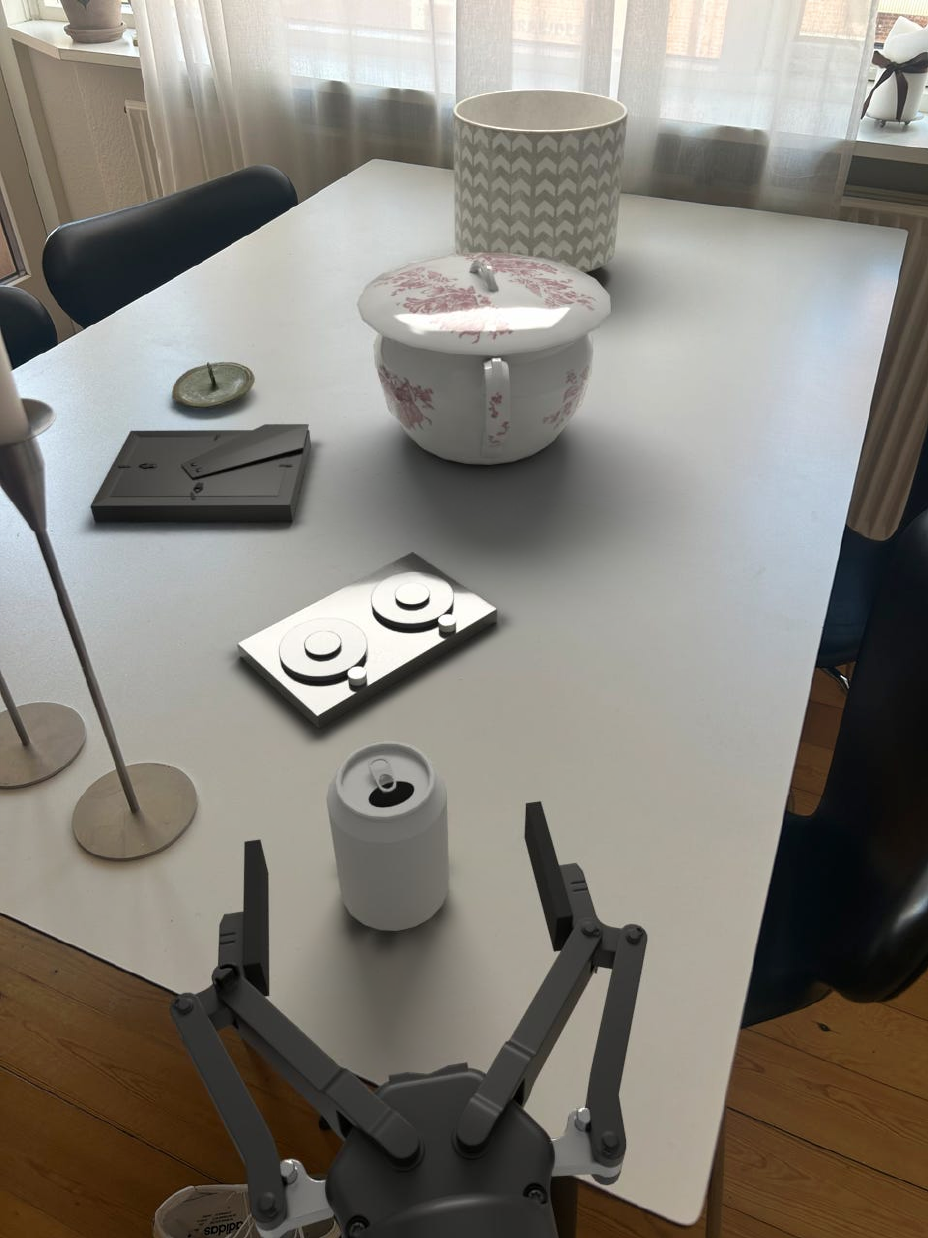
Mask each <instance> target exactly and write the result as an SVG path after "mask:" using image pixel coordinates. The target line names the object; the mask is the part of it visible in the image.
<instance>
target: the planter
mask: <svg viewBox="0 0 928 1238" xmlns="http://www.w3.org/2000/svg"><path fill="white" fill-rule="evenodd" d="M628 113H629V111H628V107H626V105H625V104H624V103H622V102H621V101H619V100H616V99H614V98H612V97H608V96H605V95H601V94H596V93H591V92H586V91H579V90H578V91H577V90H570V89H569V90H568V89H555V88H553V89H552V88H525V89H522V88H521V89H509V90H498V91H492V92H486V93H481V94H476V95H473V96H470V97H467V98H464V99H462V100H460V101H459V102H457V103H456V104H455V105H454V107H453V110H452V119H453V120H452V122H453V125H452V126H453V128H452V130H453V131H452V132H453V196H454V197H453V199H454V200H453V201H454V202H453V204H454V250H455V251H454V252H455V254H464V253H510V254H517V255H524V256H531V257H538V258H545V259H548V260H551V261H555V262H558V263H562V264H565V265H568V266H572V267H574V268H576V269H578V270H580V271H582V272H584V273H589V272H592V271H595V270H597V269H598V268H602V267H603V266H605V265H606V264H608V263H609V262H610V261H611V260H612V259H613V257H614V255H615V253H616V243H617V233H618V231H617V230H618V221H619V211H620V200H621V190H622V178H623V167H624V154H625V145H626V134H627V125H628Z"/></svg>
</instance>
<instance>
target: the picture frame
mask: <svg viewBox="0 0 928 1238" xmlns="http://www.w3.org/2000/svg"><path fill="white" fill-rule="evenodd" d="M309 427H310V426H309V423H271V424H269V423H264V424H262V425H260V426H259V427H256V428H254V429H211V430H210V429H207V430H205V429H198V430H197V429H195V430H193V429H192V430H191V429H187V430H185V429H184V430H183V429H182V430H181V429H180V430H179V429H176V430H171V429H170V430H130V431H129V433H128V435H127V437H126V438H125V440H124V441H123V442H124V443H123V444H122V446H121V448H120V450H119V452H118V454H117V455H116V457H115V459H114V461H113V462H112V465H111V467H110V468H109V469H108V472H107V474H106V476H105V477H104V480H103V481H102V483H101V485H100V486H99V489H98V491H97V492H96V494H95V496H94V498H93V500H92V502H91V504H90V505H89V507H90V510H91V513H92V517H93V520H94V523H264V522H265V523H273V522H275V523H279V522H280V523H283V522H284V523H286V522H287V523H288V522H289V523H292V522H293V521H294V517H295V513H296V509H297V505H298V500H299V496H300V492H301V488H302V484H303V480H304V476H305V472H306V467H307V463H308V459H309V455H310V452H311V447H312V441H311V434H310V429H309Z"/></svg>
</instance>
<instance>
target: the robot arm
mask: <svg viewBox="0 0 928 1238" xmlns="http://www.w3.org/2000/svg"><path fill="white" fill-rule="evenodd" d="M524 813H525V814H524V835H523V836H524V837H523V838H524V842H525V846H526V849H527V853H528V857H529V861H530V865H531V869H532V873H533V876H534V880H535V885H536V888H537V892H538V897H539V900H540V904H541V907H542V912H543V915H544V916H543V917H544V919H545V923H546V926H547V930H548V934H549V939H550V942H551V943H550V944H551V946H552V950H553V952H555V953H557V952H559V954H558V955H557V957H556V958H555V960H554V962H553V964H552V966H551V967H550V968H549V970H548V971H547V974H546V976H545V977H544V979H543V981H542V983H541V985H540V986H539V988H538V990H537V991H536V993H535V995H534V997H533V998H532V1000H531V1002H530V1004H529V1005H528V1007H527V1009H526V1010H525V1012H524V1014H523V1015H522V1018H521V1019H520V1021H519V1023H518V1024H517V1026H516V1028H515V1030H514V1031H513V1033H512V1034H511V1037H510V1038H509V1040H506V1041H505V1042H504V1043H503V1044H502V1046H501V1048H500V1050H499V1051H498V1053H497V1054H496V1057H494V1060H493V1061H492V1063H491V1065H490V1066H489V1069H488V1070H487V1072H484V1071H482V1070H479V1069H477V1068H473V1067H469V1065H468V1062H467V1061H466V1062H460V1063H454V1064H448V1065H445V1066H444V1067H442V1068H441V1067H440V1068H439V1069H437V1070H435V1071H432V1072H430V1073H421V1072H412V1071H407V1072H406V1071H405V1072H400V1073H394V1074H393V1073H392V1074H389V1075H388V1080H387V1081H385V1082H384V1083H382V1084H381V1085H379V1086H378V1087H377V1088H376V1089H375V1090H374V1091H373V1090H372V1089H371V1088H369V1087H368V1086H367V1084H365V1083H364V1082H363V1081H362V1080H361V1079H360V1078H359V1077H358V1076H357V1075H355V1074H354V1073H353V1072H352V1071H351V1070H349V1069H348V1068H347V1067H344V1068H343V1067H341V1065H339V1064H338V1063H337V1062H336V1061H335V1060H334V1059H333V1058H332V1057H330V1056H329V1055H328V1054H327V1053H326V1052H325V1051H324V1050H323V1049H322V1048H321V1047H320V1046H319V1045H317V1043H316V1042H314V1041H313V1040H312V1039H311V1038H310V1037H309V1036H308V1035H307V1034H306V1033H305V1032H303V1030H301V1028H299V1027H298V1026H297V1025H296V1024H295V1023H294V1022H293V1021H292V1020H291V1019H289V1018H288V1017H287V1016H286V1015H285V1014H284V1013H283V1012H282V1011H281V1010H279V1008H278V1007H277V1006H275V1004H274V1003H272V1001H270V1000H269V999H268V998H267V997H270V896H269V895H270V891H269V890H270V887H269V882H270V881H269V879H270V878H269V870H268V864H267V861H266V856H265V851H264V848H263V844H262V839H253V840H246V841H244V842H243V843H244V845H243V901H242V902H243V904H242V905H243V907H242V911H236V912H231V913H230V912H229V913H224V914H223V916H222V918H221V920H220V922H219V925H218V927H219V928H218V930H219V931H218V949H217V950H218V954H217V965H216V967H215V968H214V970H213V971H212V973H211V984H210V986H208V987H207V988H205V989H204V990H203V989H202V990H201V991H199V992H197V993H193V992H182V993H180V994H178V995H176V997H174V998H173V1000H172V1001H171V1003H170V1004H169V1005H170V1007H169V1012H170V1015H171V1018H172V1021H173V1023H174V1025H175V1029H176V1031H177V1033H178V1035H179V1038H180V1041H181V1042H182V1045H183V1047H184V1049H185V1050H186V1053H187V1054H188V1057H189V1058H190V1060H191V1063H192V1064H193V1066H194V1068H195V1070H196V1072H197V1075H198V1076H199V1078H200V1080H201V1082H202V1084H203V1086H204V1088H205V1090H206V1092H207V1094H208V1096H209V1097H210V1100H211V1102H212V1104H213V1107H214V1108H215V1110H216V1113H217V1114H218V1115H219V1118H220V1120H221V1122H222V1123H223V1126H224V1127H225V1130H226V1131H227V1133H228V1135H229V1137H230V1139H231V1141H232V1144H233V1145H234V1147H235V1149H236V1151H237V1153H238V1155H239V1157H240V1159H241V1161H242V1163H243V1165H244V1167H245V1174H246V1184H247V1193H248V1203H249V1211H250V1214H251V1217H252V1220H253V1223H254V1224H255V1227H256V1230H257V1232H258V1234H259V1237H260V1238H291V1236H292V1233H293V1230H295V1229H299V1228H302V1227H306V1226H308V1225H312V1224H314V1223H318V1222H321V1221H324V1220H327V1219H331V1218H333V1219H334V1222H335V1223H336V1225H337V1226H338V1229H339V1230H340V1233H341V1238H559V1235H558V1233H559V1232H558V1229H557V1224H556V1219H555V1215H554V1210H553V1206H552V1205H553V1204H552V1199H551V1183H552V1182H553V1181H552V1180H553V1178H554V1177H565V1176H569V1177H570V1176H584V1175H590V1177H592V1179H593V1180H594V1181H595V1182H596V1183H598V1184H599V1185H603V1186H611V1185H613V1184H615V1183H616V1182H617V1181H618V1180H619V1177H620V1175H621V1173H622V1169H623V1164H624V1159H625V1156H626V1151H627V1136H626V1130H625V1123H624V1118H623V1111H622V1106H621V1100H620V1090H621V1085H622V1079H623V1074H624V1069H625V1065H626V1064H625V1063H626V1059H627V1052H628V1047H629V1043H630V1037H631V1031H632V1026H633V1021H634V1015H635V1009H636V1003H637V998H638V993H639V988H640V982H641V976H642V971H643V966H644V960H645V957H646V956H645V955H646V949H647V945H648V933H647V931H646V930H645V929H644V927H642V926H641V925H638V924H636V923H629V924H625V925H624V926H623V927H615V926H609V925H607V924H605V923H604V922H602V921H601V919H599V917H598V915H597V912H596V909H595V906H594V903H593V899H592V896H591V893H590V890H589V887H588V883H587V879H586V877H585V873H584V870H583V869H582V868H581V866H580V865H579V864H578V863H577V862H572V863H566V864H559V860H558V857H557V853H556V849H555V846H554V841H553V838H552V836H551V835H552V834H551V832H550V828H549V825H548V822H547V817H546V814H545V810H544V808H543V804H542V800H539V801H532V802H526V803H525V812H524ZM599 968H602V969H608V970H611V971H610V977H609V982H608V987H607V992H606V997H605V1001H604V1005H603V1011H602V1015H601V1018H600V1019H601V1020H600V1024H599V1030H598V1034H597V1039H596V1043H595V1048H594V1049H595V1050H594V1054H593V1058H592V1063H591V1067H590V1072H589V1078H588V1083H587V1084H588V1085H587V1091H586V1098H585V1103H584V1106H581V1107H576V1108H574V1109H572V1111H570V1112H569V1115H568V1116H567V1120H566V1121H567V1122H566V1127H565V1130H564V1132H563V1133H562V1134H561V1135H559V1136H557V1137H553V1138H551V1136H550V1135H549V1133H548V1132H547V1131H546V1130H545V1128H543V1126H541V1124H539V1123H538V1122H537V1121H536V1120H535V1118H533V1117H532V1115H530V1114H529V1113H528V1112H527V1111H526V1110H525V1109H524V1108H525V1106H526V1104H527V1102H528V1100H529V1098H530V1096H531V1093H532V1090H533V1087H534V1085H535V1083H536V1081H537V1079H538V1077H539V1075H540V1074H541V1072H542V1070H543V1067H545V1064H546V1062H547V1060H548V1058H549V1057H550V1055H551V1053H552V1051H553V1049H554V1047H555V1045H556V1044H557V1042H558V1040H559V1038H560V1036H561V1034H562V1032H563V1031H564V1029H565V1027H566V1025H567V1023H568V1022H569V1020H570V1017H571V1016H572V1014H573V1012H574V1010H575V1008H576V1006H577V1005H578V1003H579V1001H580V999H581V997H582V996H583V994H584V992H585V990H586V988H587V986H588V985H589V982H590V981H591V979H592V977H593V975H594V974H596V975H597V973H598V970H599ZM227 1027H230V1028H231V1029H232V1030H233V1031H234V1032H236V1033H237V1035H239V1037H240V1038H242V1039H243V1040H244V1041H245V1042H246V1043H247V1044H248V1045H249V1046H250V1047H251V1048H252V1049H253V1050H254V1051H255V1052H256V1053H257V1054H258V1055H259V1056H260V1057H261V1058H262V1059H263V1060H264V1061H265V1062H266V1063H267V1064H268V1065H269V1066H270V1067H271V1068H272V1069H273V1070H274V1071H275V1072H277V1074H278V1075H280V1076H281V1077H282V1078H283V1079H284V1081H286V1082H287V1083H288V1085H290V1086H291V1087H292V1088H293V1089H294V1090H295V1091H296V1092H297V1093H298V1094H299V1095H300V1096H301V1097H302V1098H303V1099H304V1100H305V1101H306V1102H307V1103H308V1104H309V1105H310V1106H311V1107H312V1108H313V1109H314V1110H315V1111H316V1112H317V1113H318V1114H320V1115H321V1117H322V1118H324V1120H325V1121H326V1122H327V1124H328V1125H329V1127H330V1128H331V1130H332V1131H333V1132H334V1133H335V1135H337V1136H338V1138H339V1139H341V1141H343V1143H342V1145H341V1147H340V1149H339V1151H338V1152H337V1153H336V1156H335V1158H334V1160H333V1161H332V1163H331V1165H330V1167H328V1170H327V1173H326V1177H325V1179H314V1178H312V1177H311V1176H309V1174H308V1173H307V1171H306V1169H305V1167H304V1164H303V1163H302V1162H301V1161H300V1160H298V1159H296V1158H286V1159H283V1160H281V1157H280V1154H279V1151H278V1147H277V1144H276V1141H275V1139H274V1137H273V1135H272V1133H271V1130H270V1128H269V1127H268V1124H267V1123H266V1121H265V1119H264V1117H263V1115H262V1114H261V1111H260V1110H259V1108H258V1106H257V1104H256V1102H255V1100H254V1099H253V1097H252V1094H251V1093H250V1091H249V1089H248V1088H247V1085H246V1083H245V1082H244V1080H243V1078H242V1076H241V1075H240V1072H239V1071H238V1069H237V1067H236V1065H235V1063H234V1062H233V1059H232V1058H231V1056H230V1054H229V1052H228V1050H227V1048H226V1046H225V1044H224V1043H223V1041H222V1039H221V1037H220V1035H219V1033H218V1032H219V1031H221V1030H223V1029H225V1028H227Z"/></svg>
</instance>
